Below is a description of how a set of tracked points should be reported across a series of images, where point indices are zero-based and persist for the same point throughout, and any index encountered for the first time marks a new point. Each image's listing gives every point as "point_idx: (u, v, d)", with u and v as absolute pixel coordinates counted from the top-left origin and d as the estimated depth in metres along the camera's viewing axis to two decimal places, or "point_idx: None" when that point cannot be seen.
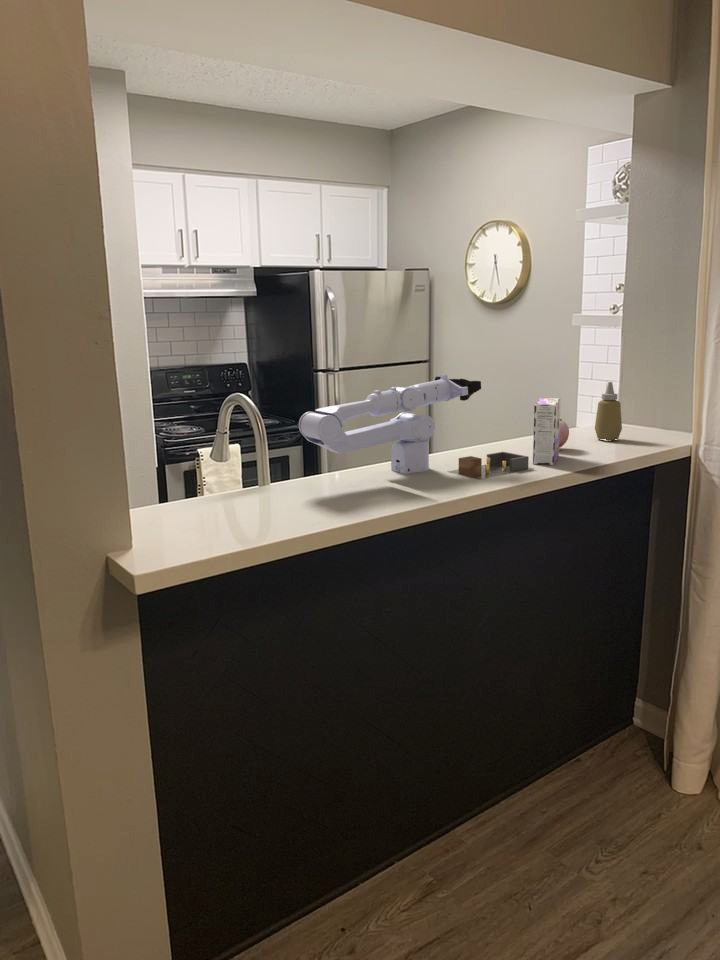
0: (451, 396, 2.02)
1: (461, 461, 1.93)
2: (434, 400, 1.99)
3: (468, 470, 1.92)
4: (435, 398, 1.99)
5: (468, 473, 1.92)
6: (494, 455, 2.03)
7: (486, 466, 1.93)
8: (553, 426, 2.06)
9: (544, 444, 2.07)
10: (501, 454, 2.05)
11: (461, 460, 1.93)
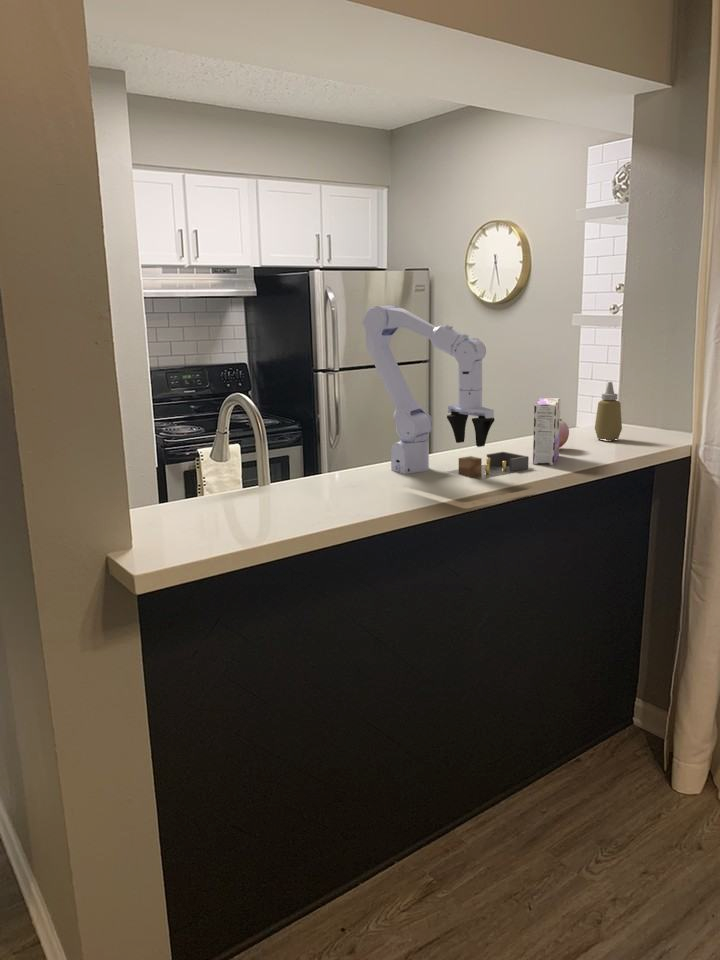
0: None
1: (461, 461, 1.93)
2: (460, 386, 1.89)
3: (468, 470, 1.92)
4: (461, 387, 1.88)
5: (468, 473, 1.92)
6: (494, 455, 2.03)
7: (486, 466, 1.93)
8: (553, 426, 2.06)
9: (544, 444, 2.07)
10: (501, 454, 2.05)
11: (461, 460, 1.93)
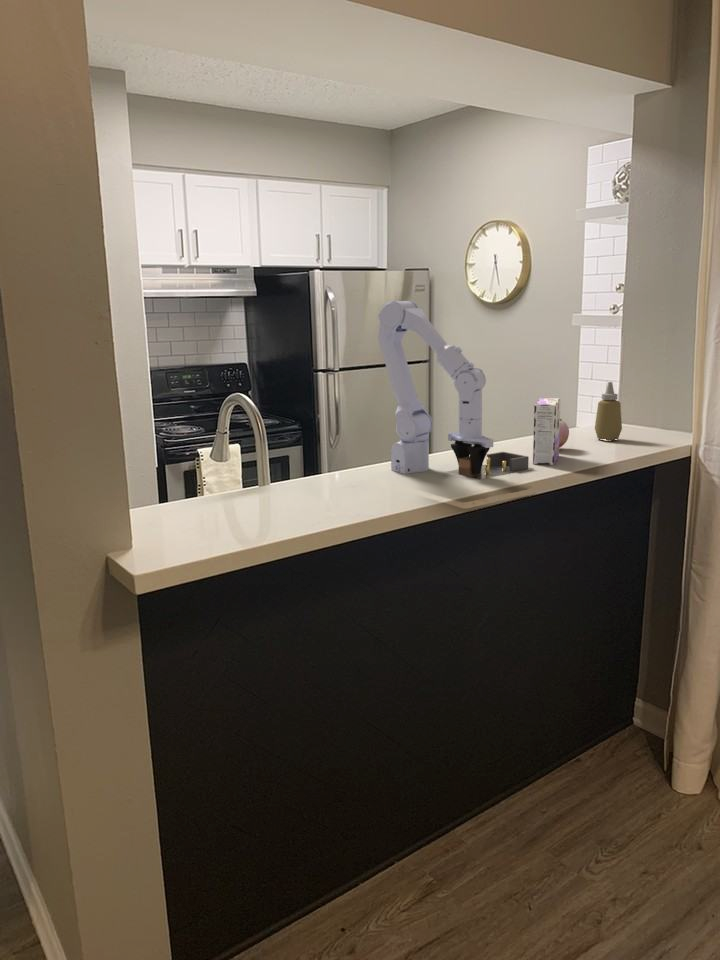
0: None
1: (461, 461, 1.93)
2: (460, 415, 1.90)
3: (468, 470, 1.92)
4: (461, 416, 1.90)
5: (468, 473, 1.92)
6: (494, 455, 2.03)
7: (486, 466, 1.93)
8: (553, 426, 2.06)
9: (544, 444, 2.07)
10: (501, 454, 2.05)
11: (461, 460, 1.93)
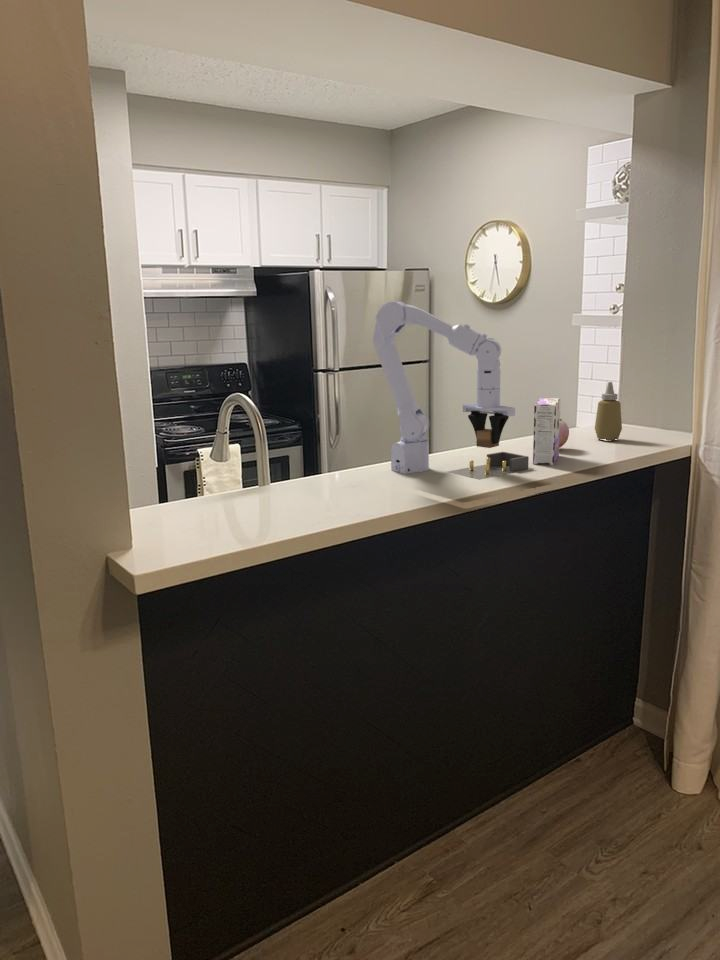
0: None
1: (480, 433, 1.95)
2: (480, 385, 1.91)
3: (488, 442, 1.93)
4: (482, 386, 1.91)
5: (488, 445, 1.93)
6: (494, 455, 2.03)
7: (486, 466, 1.93)
8: (553, 426, 2.06)
9: (544, 444, 2.07)
10: (501, 454, 2.05)
11: (480, 432, 1.94)
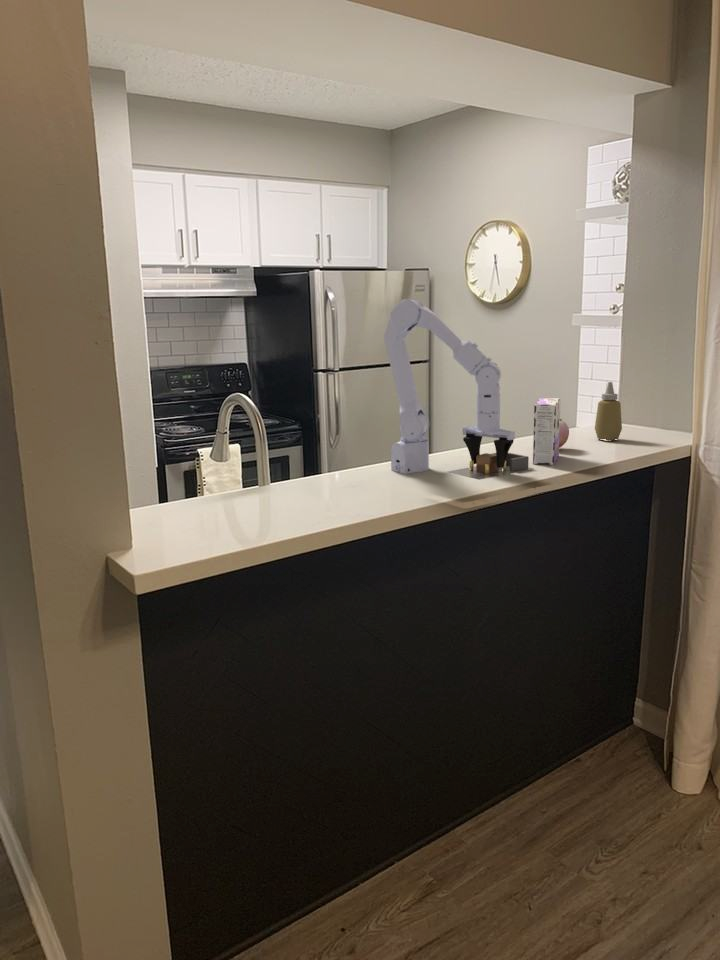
0: None
1: (479, 458, 1.96)
2: (480, 409, 1.92)
3: None
4: (482, 410, 1.92)
5: None
6: None
7: (486, 466, 1.93)
8: (553, 426, 2.06)
9: (544, 444, 2.07)
10: None
11: (480, 457, 1.96)
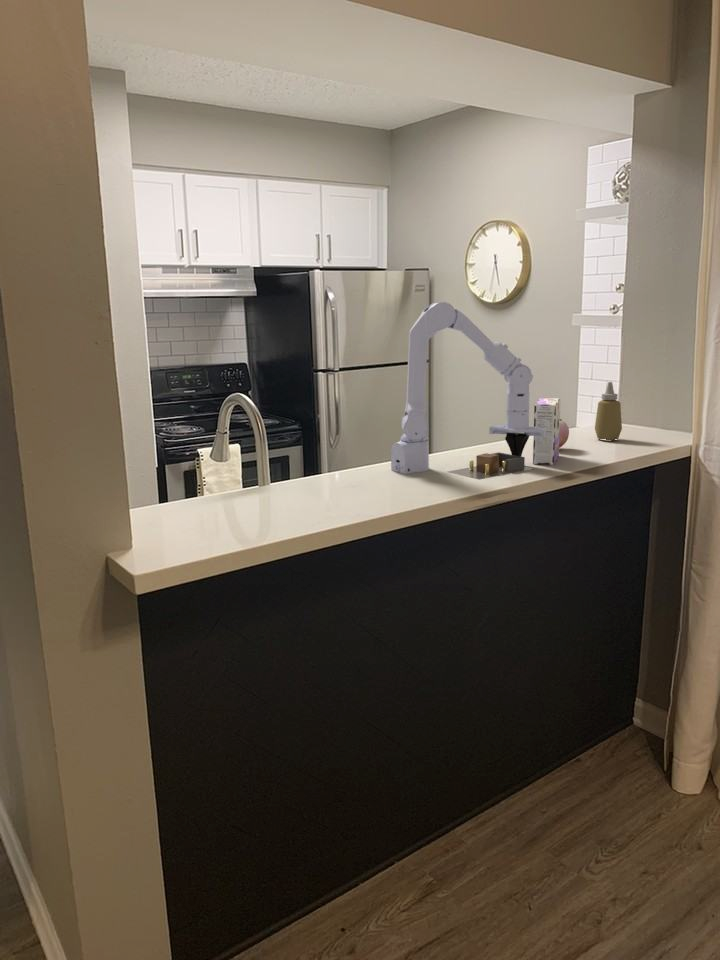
0: None
1: (479, 458, 1.96)
2: (513, 408, 1.98)
3: None
4: (515, 409, 1.97)
5: None
6: None
7: (486, 466, 1.93)
8: (553, 426, 2.06)
9: (544, 444, 2.07)
10: None
11: (480, 457, 1.96)
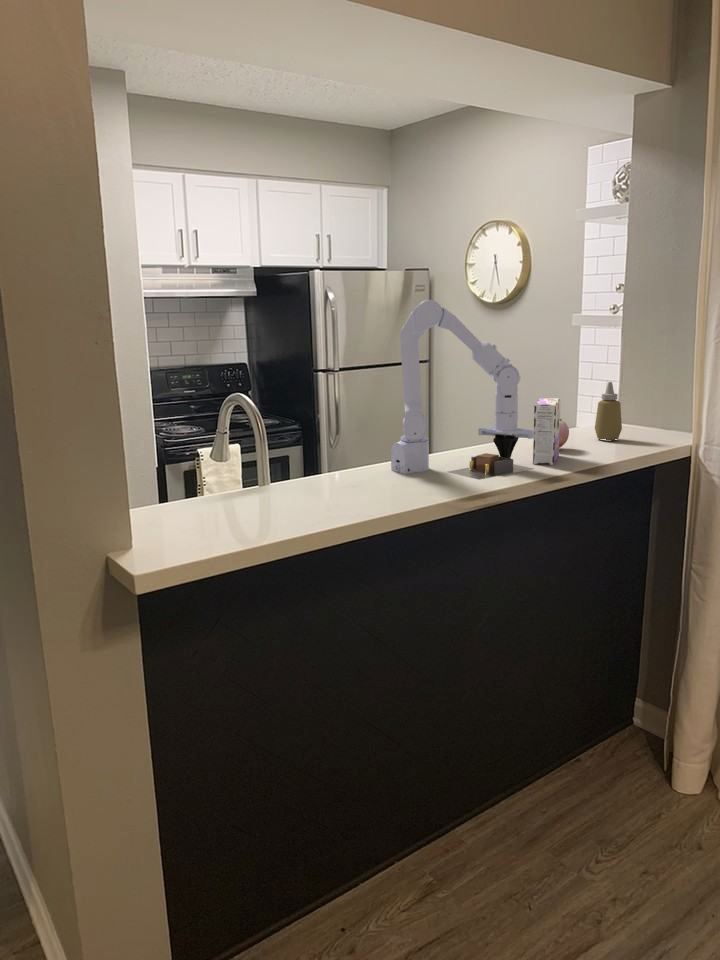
0: None
1: (479, 458, 1.96)
2: (500, 410, 1.95)
3: None
4: (502, 410, 1.95)
5: None
6: None
7: (486, 466, 1.93)
8: (553, 426, 2.06)
9: (544, 444, 2.07)
10: None
11: (480, 457, 1.96)
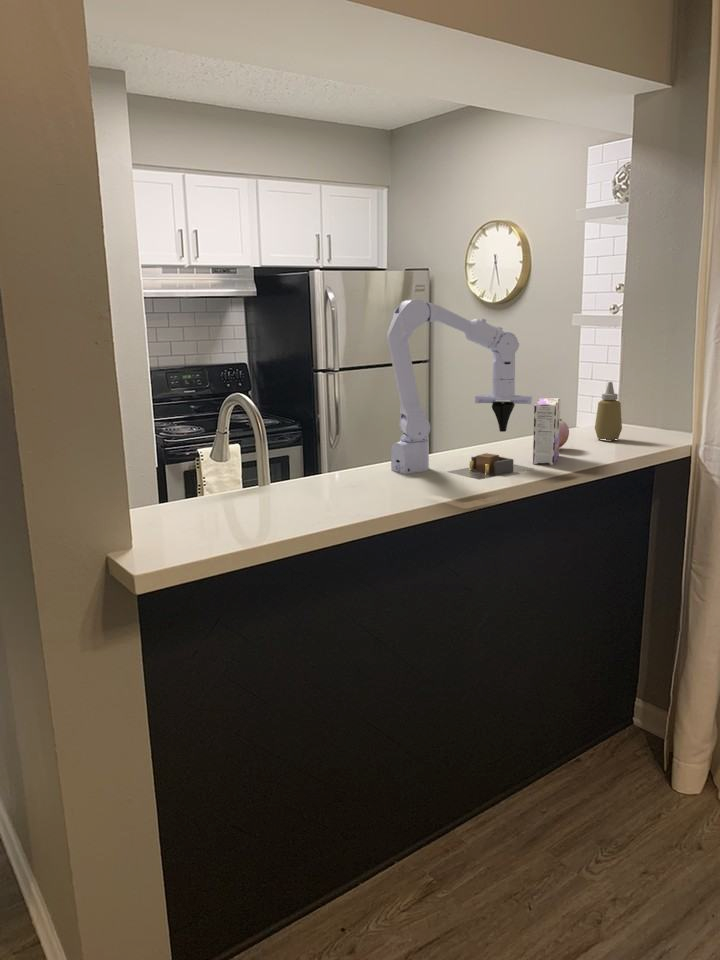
0: None
1: (479, 458, 1.96)
2: (500, 376, 1.98)
3: None
4: (502, 377, 1.98)
5: None
6: None
7: (486, 466, 1.93)
8: (553, 426, 2.06)
9: (544, 444, 2.07)
10: None
11: (480, 457, 1.96)
